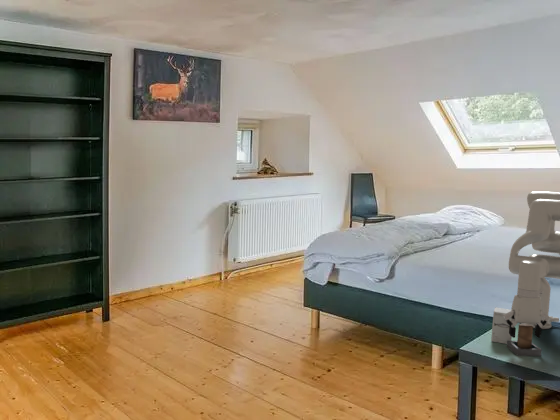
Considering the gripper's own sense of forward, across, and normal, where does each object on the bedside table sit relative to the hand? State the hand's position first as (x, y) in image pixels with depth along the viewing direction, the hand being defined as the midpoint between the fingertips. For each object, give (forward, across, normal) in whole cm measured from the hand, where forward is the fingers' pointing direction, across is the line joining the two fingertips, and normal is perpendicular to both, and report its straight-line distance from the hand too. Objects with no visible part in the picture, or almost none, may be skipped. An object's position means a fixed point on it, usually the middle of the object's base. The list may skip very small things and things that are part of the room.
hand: (524, 336), depth 203 cm
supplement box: (+6, +4, -11) cm, 13 cm away
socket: (+6, 0, 0) cm, 6 cm away
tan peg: (+6, 0, 0) cm, 6 cm away
